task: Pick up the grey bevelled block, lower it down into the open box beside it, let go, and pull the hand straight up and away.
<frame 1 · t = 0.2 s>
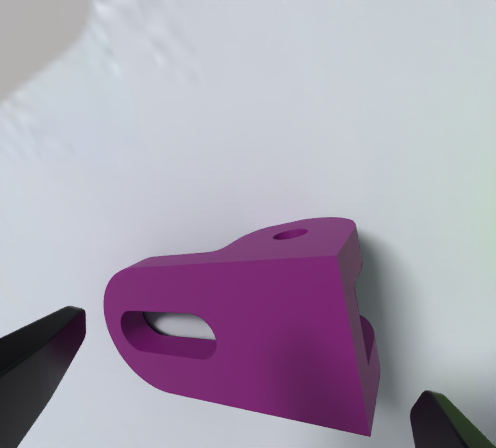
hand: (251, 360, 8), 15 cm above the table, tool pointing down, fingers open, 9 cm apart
mounting bracket: (230, 293, 25), on the table
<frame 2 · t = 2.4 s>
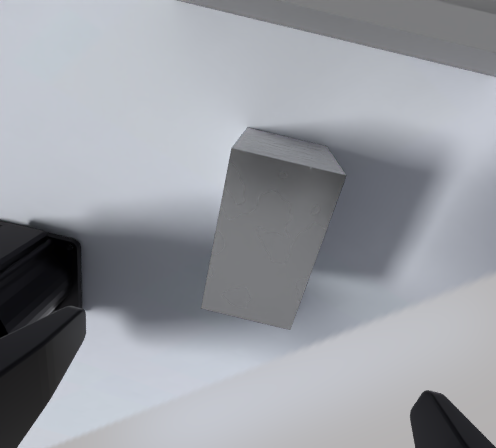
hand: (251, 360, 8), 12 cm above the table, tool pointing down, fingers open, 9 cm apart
grey bevelled block: (269, 202, 19), on the table
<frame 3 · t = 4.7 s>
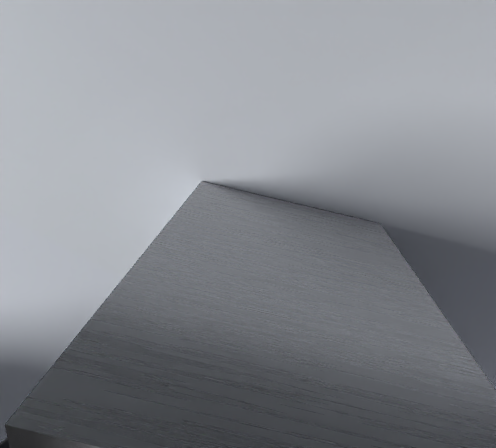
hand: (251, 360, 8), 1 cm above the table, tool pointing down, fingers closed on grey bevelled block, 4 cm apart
grey bevelled block: (255, 324, 9), on the table, touching gripper
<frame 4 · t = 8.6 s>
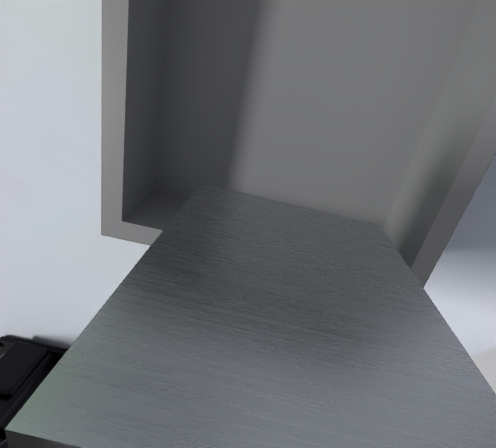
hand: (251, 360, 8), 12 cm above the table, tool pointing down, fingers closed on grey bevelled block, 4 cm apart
open box: (299, 75, 16), on the table
grey bevelled block: (255, 325, 9), point 11 cm above the table, touching gripper
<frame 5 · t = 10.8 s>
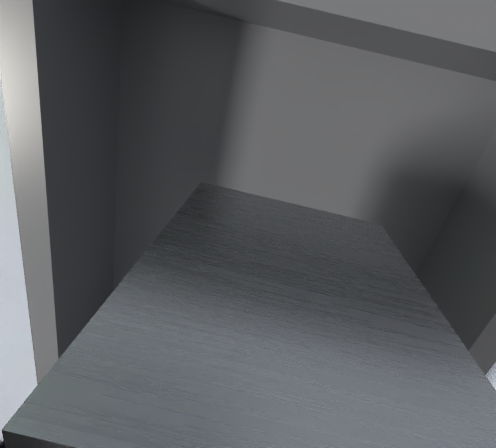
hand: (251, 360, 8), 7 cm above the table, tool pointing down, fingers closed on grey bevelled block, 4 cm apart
open box: (266, 233, 15), on the table
grey bevelled block: (255, 325, 9), point 6 cm above the table, touching gripper
when the fingers open (3 cm above the table, at t = 12.5 s): grey bevelled block drops 1 cm, resting on open box.
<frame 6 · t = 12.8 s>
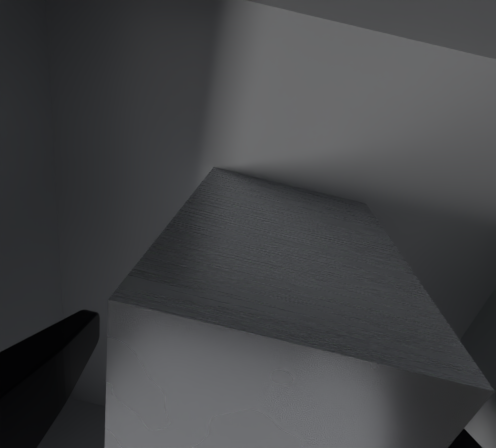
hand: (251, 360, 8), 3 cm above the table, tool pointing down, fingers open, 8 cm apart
open box: (260, 283, 11), on the table
grey bevelled block: (258, 294, 11), point 1 cm above the table, touching open box
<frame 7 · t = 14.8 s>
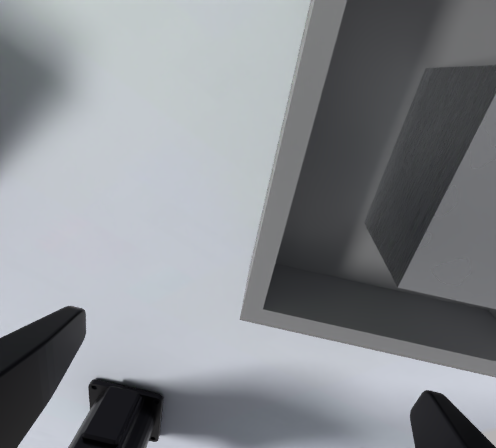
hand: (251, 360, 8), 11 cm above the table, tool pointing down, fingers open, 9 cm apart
open box: (430, 159, 16), on the table
grey bevelled block: (434, 163, 16), point 1 cm above the table, touching open box
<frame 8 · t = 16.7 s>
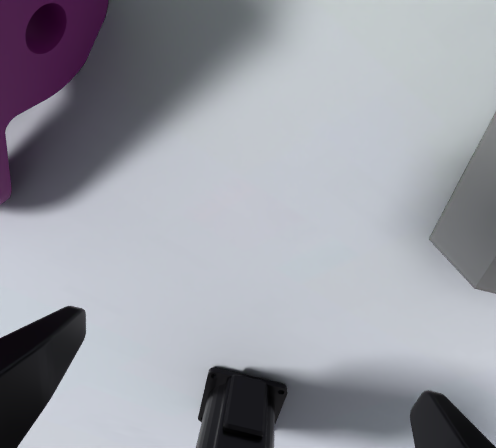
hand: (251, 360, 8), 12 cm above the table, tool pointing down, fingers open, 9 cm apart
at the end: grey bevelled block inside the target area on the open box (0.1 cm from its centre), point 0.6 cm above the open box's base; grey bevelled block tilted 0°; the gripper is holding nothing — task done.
